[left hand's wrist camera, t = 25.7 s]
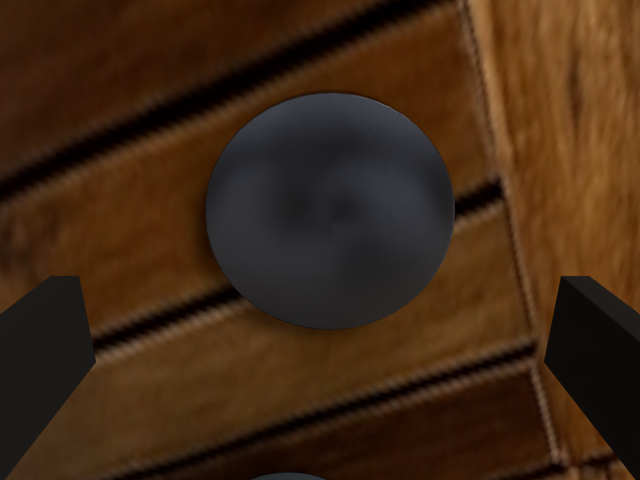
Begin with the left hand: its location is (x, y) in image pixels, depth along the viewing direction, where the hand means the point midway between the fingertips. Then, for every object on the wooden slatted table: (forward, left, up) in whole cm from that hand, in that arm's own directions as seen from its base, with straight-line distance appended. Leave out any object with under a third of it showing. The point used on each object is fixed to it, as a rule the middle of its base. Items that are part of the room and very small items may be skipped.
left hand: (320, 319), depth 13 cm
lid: (+1, 0, -7) cm, 7 cm away
